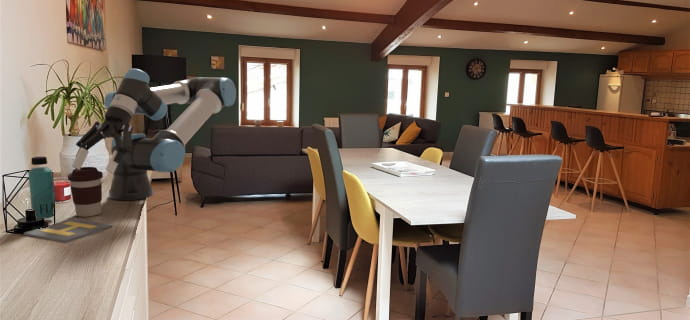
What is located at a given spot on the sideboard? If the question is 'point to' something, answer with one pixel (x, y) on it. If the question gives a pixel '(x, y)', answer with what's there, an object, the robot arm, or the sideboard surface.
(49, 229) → the letter board
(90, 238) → the sideboard surface
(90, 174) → the coffee cup
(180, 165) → the robot arm
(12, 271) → the sideboard surface
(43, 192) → the beverage bottle
